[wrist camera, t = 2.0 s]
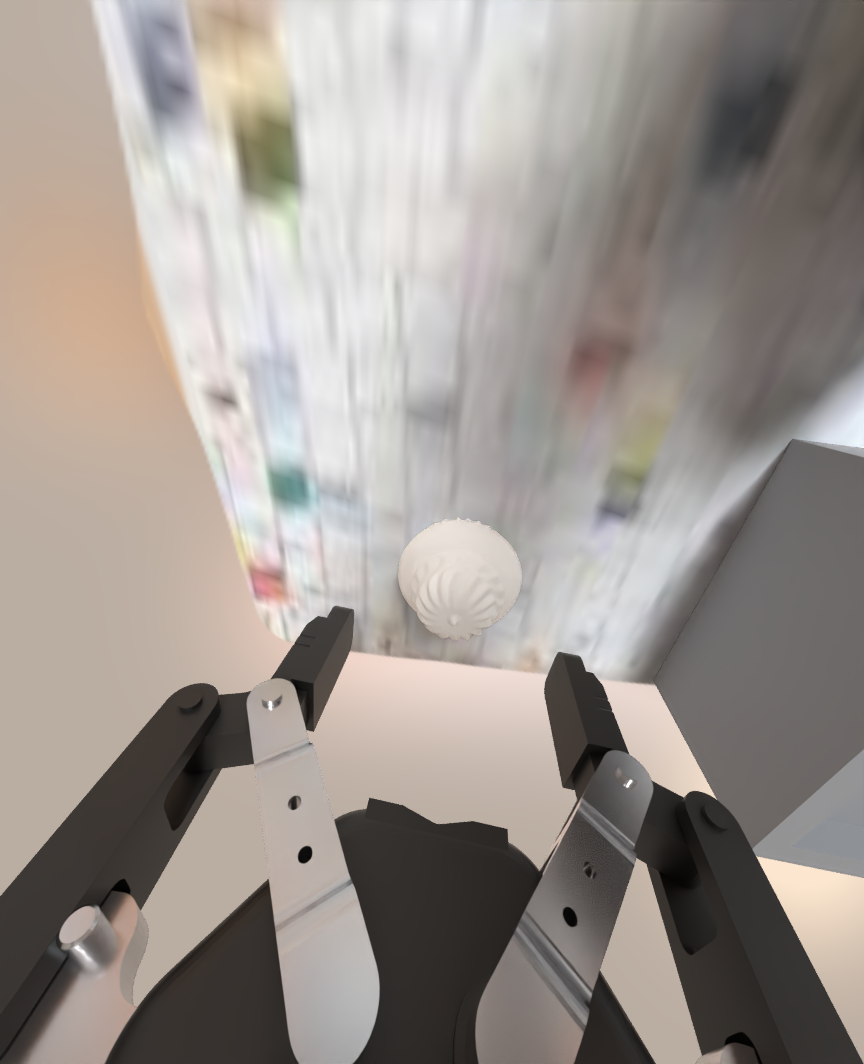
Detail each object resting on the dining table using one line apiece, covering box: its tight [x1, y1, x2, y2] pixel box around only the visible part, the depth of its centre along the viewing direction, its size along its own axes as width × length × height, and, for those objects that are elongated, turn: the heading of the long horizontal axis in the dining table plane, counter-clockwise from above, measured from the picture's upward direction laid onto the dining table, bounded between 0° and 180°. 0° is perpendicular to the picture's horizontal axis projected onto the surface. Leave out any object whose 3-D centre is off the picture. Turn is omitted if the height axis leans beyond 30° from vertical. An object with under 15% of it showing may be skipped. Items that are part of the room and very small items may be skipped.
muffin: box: [398, 518, 522, 641], centre depth 17 cm, size 6×6×7 cm
